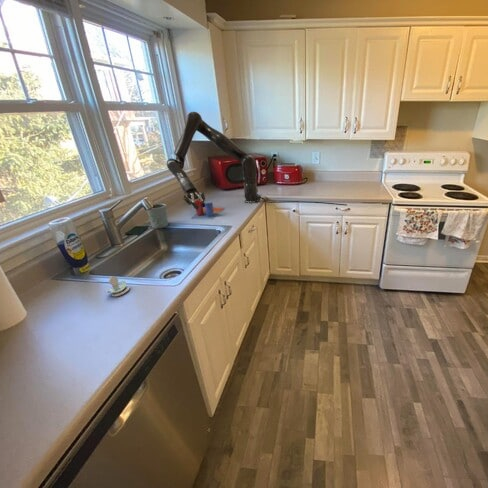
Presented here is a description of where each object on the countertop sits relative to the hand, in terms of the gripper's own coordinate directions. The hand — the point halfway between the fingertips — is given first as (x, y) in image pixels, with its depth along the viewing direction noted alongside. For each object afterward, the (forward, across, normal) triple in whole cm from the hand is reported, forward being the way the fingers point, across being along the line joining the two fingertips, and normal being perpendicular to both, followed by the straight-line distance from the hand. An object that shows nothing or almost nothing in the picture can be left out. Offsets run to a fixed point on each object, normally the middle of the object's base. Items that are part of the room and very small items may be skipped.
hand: (200, 207), depth 177 cm
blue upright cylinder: (+7, +3, +1) cm, 8 cm away
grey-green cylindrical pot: (+2, -25, +6) cm, 26 cm away
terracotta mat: (0, +12, +8) cm, 14 cm away
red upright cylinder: (+2, 0, +5) cm, 5 cm away
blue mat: (+5, +1, +3) cm, 6 cm away
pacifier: (+41, -67, -33) cm, 85 cm away
